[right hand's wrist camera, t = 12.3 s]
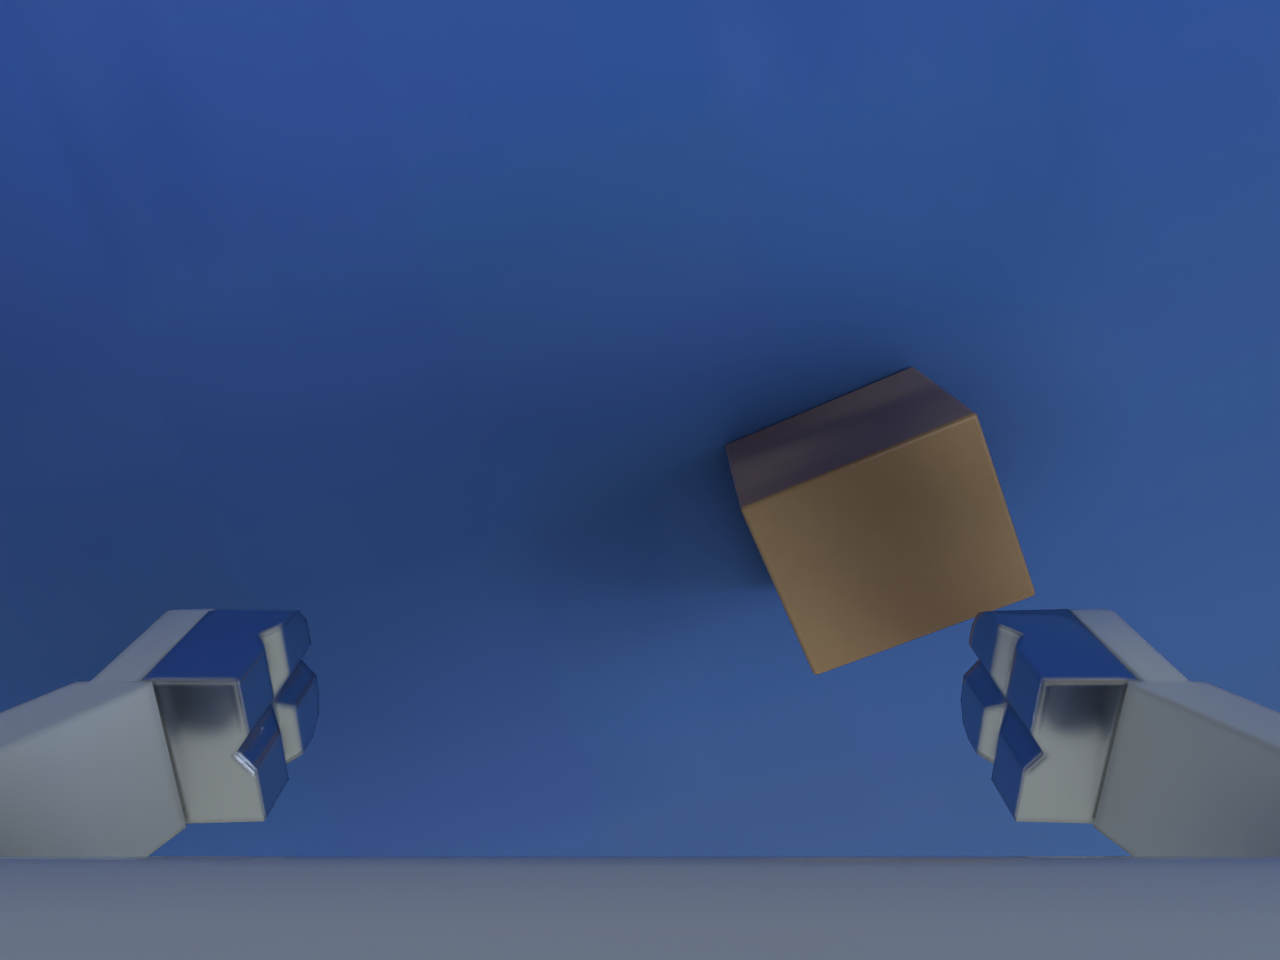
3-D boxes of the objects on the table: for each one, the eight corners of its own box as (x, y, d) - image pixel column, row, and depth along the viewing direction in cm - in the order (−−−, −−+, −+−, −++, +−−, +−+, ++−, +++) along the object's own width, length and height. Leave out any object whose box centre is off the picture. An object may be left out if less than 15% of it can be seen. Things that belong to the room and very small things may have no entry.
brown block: (786, 586, 22) (814, 677, 18) (723, 444, 21) (739, 508, 17) (966, 517, 21) (1037, 596, 17) (913, 365, 20) (976, 412, 16)
